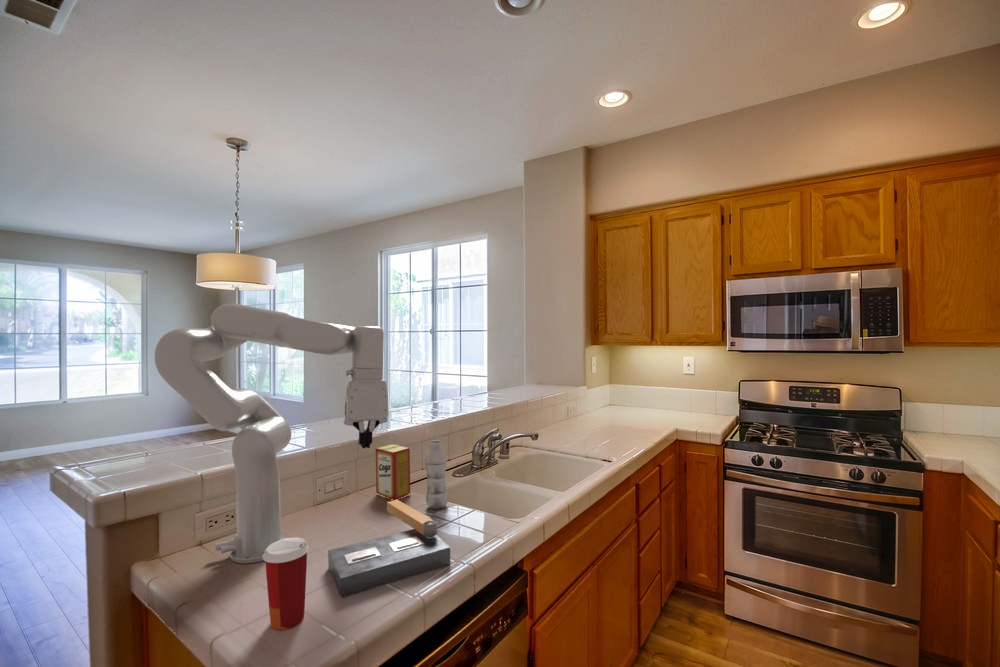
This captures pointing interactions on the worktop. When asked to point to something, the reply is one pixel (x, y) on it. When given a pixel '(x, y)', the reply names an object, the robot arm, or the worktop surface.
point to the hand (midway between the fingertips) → (365, 446)
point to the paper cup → (286, 581)
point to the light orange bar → (412, 518)
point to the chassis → (385, 560)
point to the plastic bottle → (436, 476)
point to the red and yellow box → (393, 471)
